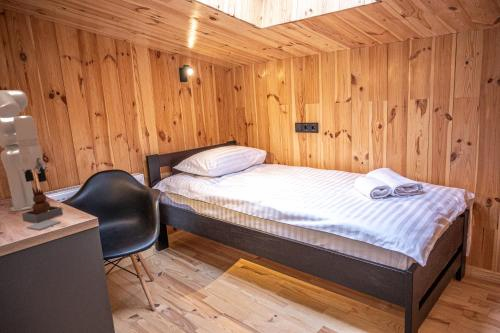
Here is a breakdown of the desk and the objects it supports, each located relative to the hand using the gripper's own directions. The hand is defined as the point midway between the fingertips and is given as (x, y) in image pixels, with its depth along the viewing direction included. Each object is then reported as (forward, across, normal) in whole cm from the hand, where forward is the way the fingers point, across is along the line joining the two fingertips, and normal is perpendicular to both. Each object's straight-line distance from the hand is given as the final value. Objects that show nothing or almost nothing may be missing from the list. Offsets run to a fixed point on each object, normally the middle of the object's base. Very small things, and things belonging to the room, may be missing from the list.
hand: (36, 181), depth 146 cm
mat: (+18, +11, -7) cm, 22 cm away
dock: (+17, -1, 0) cm, 17 cm away
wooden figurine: (+18, -1, 0) cm, 18 cm away
